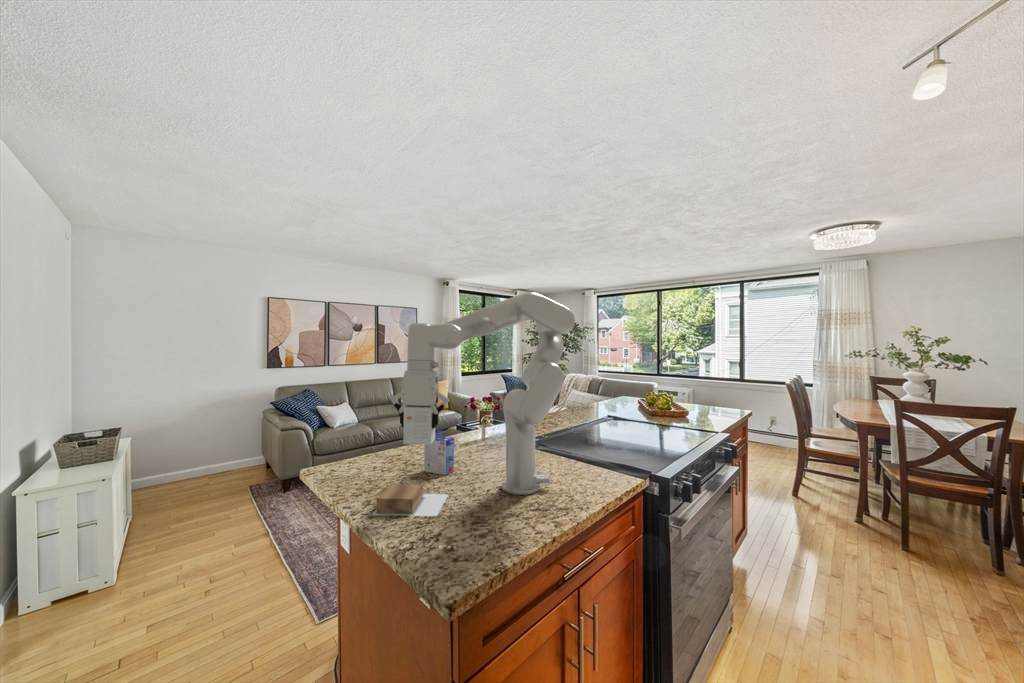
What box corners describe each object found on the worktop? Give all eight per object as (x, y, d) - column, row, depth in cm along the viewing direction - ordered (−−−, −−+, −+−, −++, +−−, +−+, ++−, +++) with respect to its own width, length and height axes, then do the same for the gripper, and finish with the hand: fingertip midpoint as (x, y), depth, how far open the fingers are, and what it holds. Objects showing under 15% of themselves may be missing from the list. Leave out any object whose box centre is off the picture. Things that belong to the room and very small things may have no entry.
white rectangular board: (448, 495, 114) (448, 494, 114) (436, 517, 100) (436, 515, 100) (390, 494, 115) (390, 493, 115) (371, 516, 101) (371, 514, 101)
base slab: (423, 498, 111) (423, 484, 111) (412, 513, 101) (412, 498, 101) (390, 497, 112) (390, 484, 112) (376, 513, 102) (376, 498, 102)
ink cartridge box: (455, 470, 136) (454, 431, 136) (446, 475, 131) (446, 434, 131) (432, 467, 140) (432, 428, 140) (423, 471, 135) (423, 432, 135)
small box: (435, 440, 110) (436, 404, 110) (430, 445, 104) (431, 407, 105) (408, 439, 110) (409, 403, 110) (402, 444, 105) (403, 406, 105)
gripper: (453, 366, 111) (451, 425, 110) (395, 364, 111) (393, 423, 111) (447, 367, 103) (446, 430, 103) (386, 366, 104) (384, 428, 104)
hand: (419, 426), depth 107 cm, fingers closed on small box, 8 cm apart
